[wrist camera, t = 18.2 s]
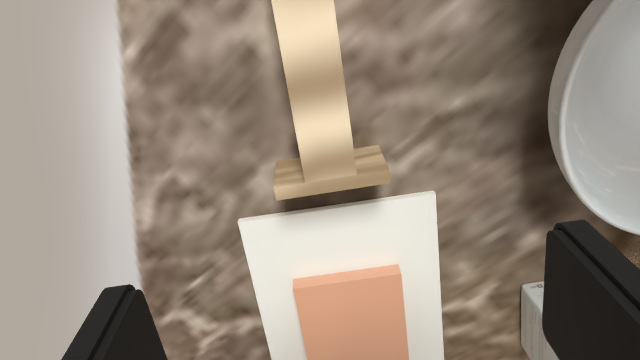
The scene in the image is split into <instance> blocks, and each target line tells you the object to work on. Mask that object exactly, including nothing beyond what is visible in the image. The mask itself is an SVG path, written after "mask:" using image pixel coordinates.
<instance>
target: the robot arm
mask: <svg viewBox="0 0 640 360" xmlns="http://www.w3.org/2000/svg"><path fill="white" fill-rule="evenodd" d="M542 329H543V333H544V336H545V338H546V340H547V342H548V343H549V345H550V346H551V348H552V349H553V351H554V353H555V354H556V356H557V357H558V359H559V360H640V270H639V269H638V268H637V267H636V266H635V265H634V264H633V263H632V262H630V261H629V260H628V259H627V258H626V257H625V256H624V255H623V254H622V253H621V252H620V251H618V250H617V249H616V248H615V247H614V246H613V245H612V244H611V243H610V242H609V241H608V240H606V239H605V238H604V237H603V236H602V235H601V234H600V233H599V232H598V231H597V230H595V229H594V228H593V227H592V226H591V225H590V224H589V223H588V222H586V221H585V220H577V221H570V222H563V223H557V224H556V225H555V227H554V230H552V231H549V232H548V233H547V239H546V257H545V275H544V293H543V311H542ZM62 360H167V357H166V354H165V351H164V349H163V346H162V343H161V340H160V338H159V335H158V332H157V329H156V327H155V324H154V321H153V318H152V316H151V313H150V310H149V307H148V305H147V302H146V299H145V296H144V294H143V292H142V291H141V290H139V289H138V290H135V288H134V287H133V285H130V284H129V285H122V286H116V287H108V288H105V289H104V290H103V291H102V293H101V294H100V296H99V298H98V299H97V301H96V303H95V304H94V306H93V308H92V309H91V311H90V313H89V314H88V316H87V318H86V319H85V321H84V323H83V324H82V326H81V328H80V329H79V331H78V333H77V334H76V336H75V338H74V339H73V341H72V343H71V344H70V346H69V348H68V350H67V351H66V353H65V355H64V356H63V358H62Z"/></svg>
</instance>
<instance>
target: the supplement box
mask: <svg viewBox="0 0 640 360" xmlns="http://www.w3.org/2000/svg"><path fill="white" fill-rule="evenodd" d="M521 288H522V290H521V345H522V347H523V348H524V350H525V352H526V354H527V355H528V357H529V359H530V360H559V359H558V357H557V356H556V354H555V353H554V351H553V349H552V348H551V346H550V345H549V343H548V342H547V340H546V338H545V336H544V333H543V329H542V311H543V293H544V281H541V282H535V283H528V284H523V285H522V287H521Z"/></svg>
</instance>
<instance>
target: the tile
mask: <svg viewBox="0 0 640 360" xmlns="http://www.w3.org/2000/svg"><path fill="white" fill-rule="evenodd" d="M293 292H294V297H295V301H296V306H297V311H298V316H299V321H300V326H301V331H302V336H303V340H304V345H305V350H306V355H307V360H409V352H408V341H407V330H406V319H405V308H404V297H403V286H402V275H401V271H400V268H399V265H398V264H395V265H388V266H381V267H374V268H367V269H360V270H353V271H345V272H338V273H331V274H324V275H317V276H310V277H303V278H296V279H293Z"/></svg>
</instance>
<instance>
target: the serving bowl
mask: <svg viewBox="0 0 640 360" xmlns="http://www.w3.org/2000/svg"><path fill="white" fill-rule="evenodd" d="M548 128H549V135H550V140H551V144H552V148H553V152H554V155H555V158H556V160H557V163H558V165H559V167H560V170H561V172H562V174H563V175H564V177H565V179H566V180H567V182H568V183H569V185H570V187H571V188H572V190H573V191H574V192H575V194H576V195H577V197H578V198H579V199H580V201H581V202H582V203H583V204H584V205H585V206H586V207H587V208H588V209H589V210H591V211H592V212H593V213H594V214H595V215H596V216H598V217H599V218H601V219H602V220H604V221H605V222H607V223H609V224H611V225H613V226H614V227H617V228H619V229H621V230H624V231H627V232H630V233H633V234H637V235H640V0H593V1H592V2H591V3H590V4H589V6H588V7H587V8H586V10H585V11H584V12H583V14H582V15H581V17H580V18H579V20H578V21H577V23H576V25H575V26H574V28H573V29H572V31H571V33H570V35H569V37H568V39H567V40H566V42H565V45H564V47H563V49H562V51H561V54H560V56H559V59H558V61H557V64H556V67H555V70H554V74H553V78H552V82H551V86H550V92H549V100H548Z"/></svg>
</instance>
